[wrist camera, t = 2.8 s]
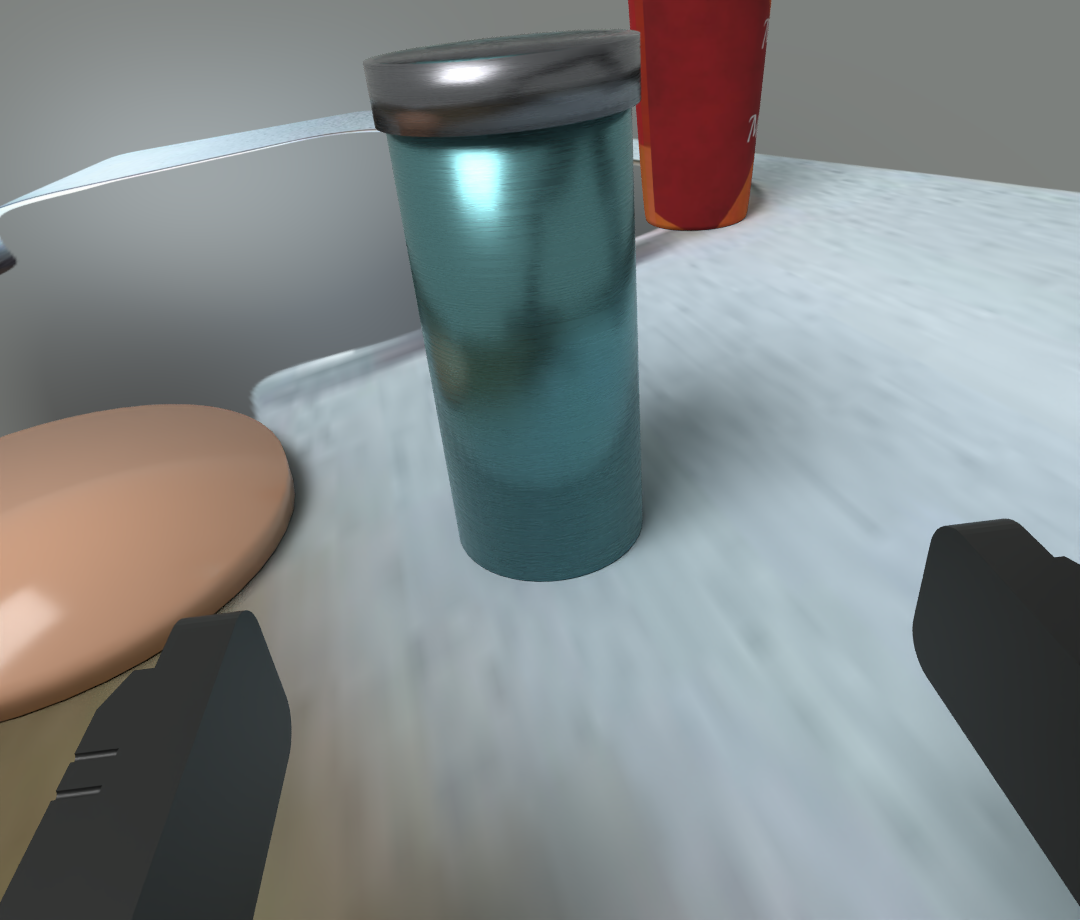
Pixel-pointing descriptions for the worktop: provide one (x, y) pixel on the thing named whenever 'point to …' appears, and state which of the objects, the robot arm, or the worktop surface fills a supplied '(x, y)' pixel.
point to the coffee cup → (698, 107)
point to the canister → (525, 284)
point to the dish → (126, 538)
